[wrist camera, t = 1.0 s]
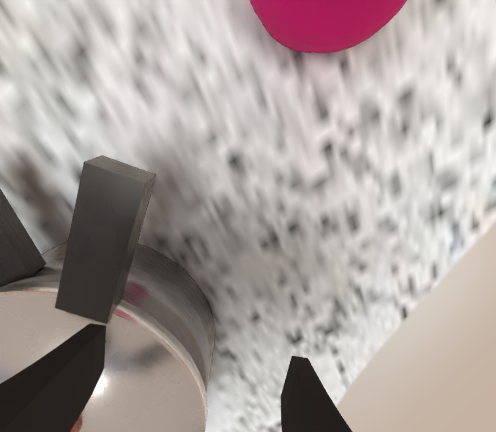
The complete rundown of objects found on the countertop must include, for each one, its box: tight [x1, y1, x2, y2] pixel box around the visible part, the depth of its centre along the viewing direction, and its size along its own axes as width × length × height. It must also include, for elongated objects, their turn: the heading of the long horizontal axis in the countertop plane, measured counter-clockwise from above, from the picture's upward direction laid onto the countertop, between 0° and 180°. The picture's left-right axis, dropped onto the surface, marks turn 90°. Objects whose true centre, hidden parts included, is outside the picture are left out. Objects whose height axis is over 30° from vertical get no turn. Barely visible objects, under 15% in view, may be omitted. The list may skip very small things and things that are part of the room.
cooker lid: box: [0, 156, 208, 432], centre depth 17 cm, size 22×16×3 cm
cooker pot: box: [0, 189, 215, 391], centre depth 22 cm, size 15×24×6 cm, turn 20°
